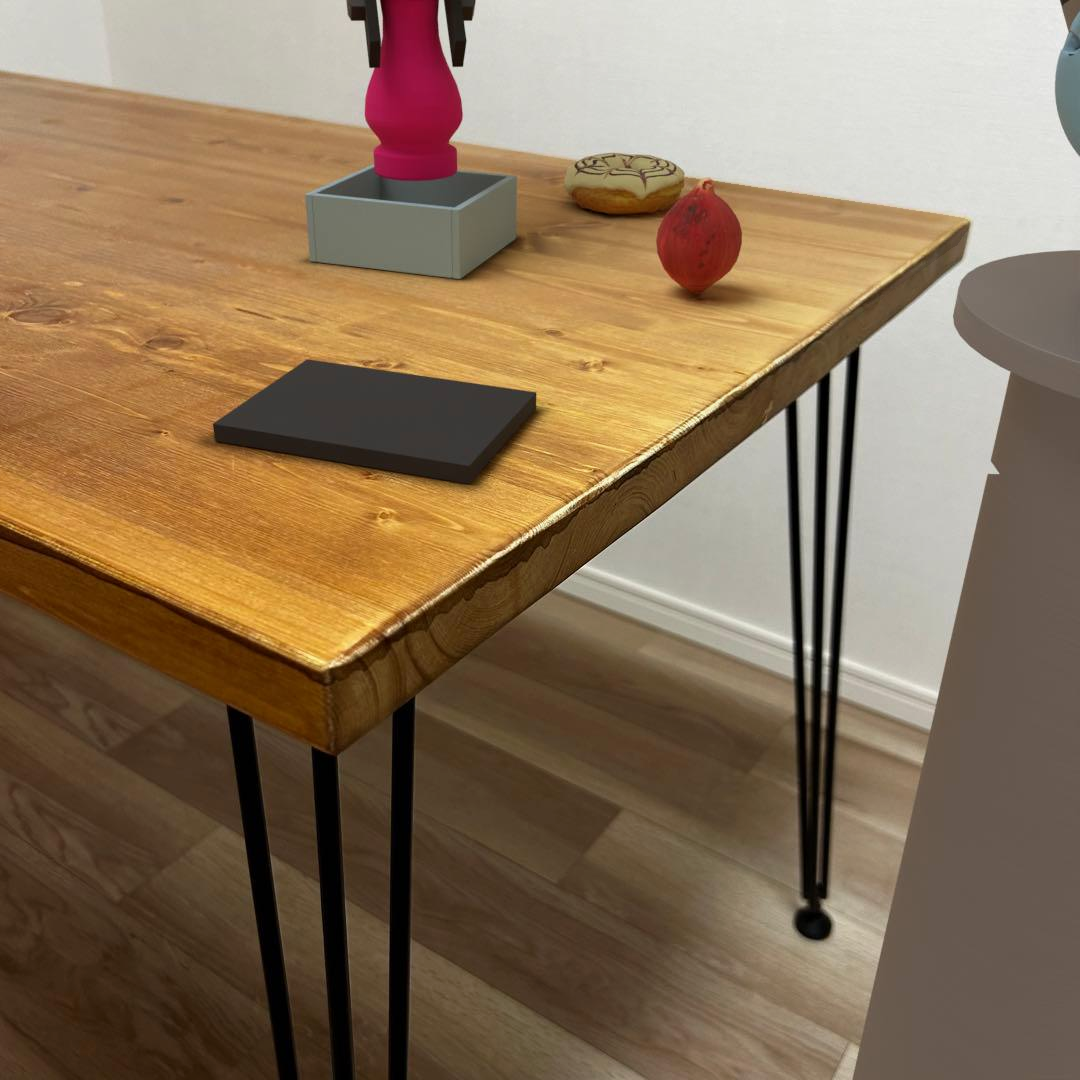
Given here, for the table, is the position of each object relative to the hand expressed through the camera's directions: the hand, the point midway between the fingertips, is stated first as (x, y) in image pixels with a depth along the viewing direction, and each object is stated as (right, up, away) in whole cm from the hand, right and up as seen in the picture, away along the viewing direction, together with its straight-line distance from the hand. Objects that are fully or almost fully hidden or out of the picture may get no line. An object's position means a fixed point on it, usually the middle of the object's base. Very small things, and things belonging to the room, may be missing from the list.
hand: (417, 54), depth 83 cm
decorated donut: (+16, -4, +25) cm, 30 cm away
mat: (0, -28, -20) cm, 34 cm away
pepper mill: (-1, -6, +7) cm, 10 cm away
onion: (+19, -17, +2) cm, 26 cm away
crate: (-1, -11, +10) cm, 15 cm away
